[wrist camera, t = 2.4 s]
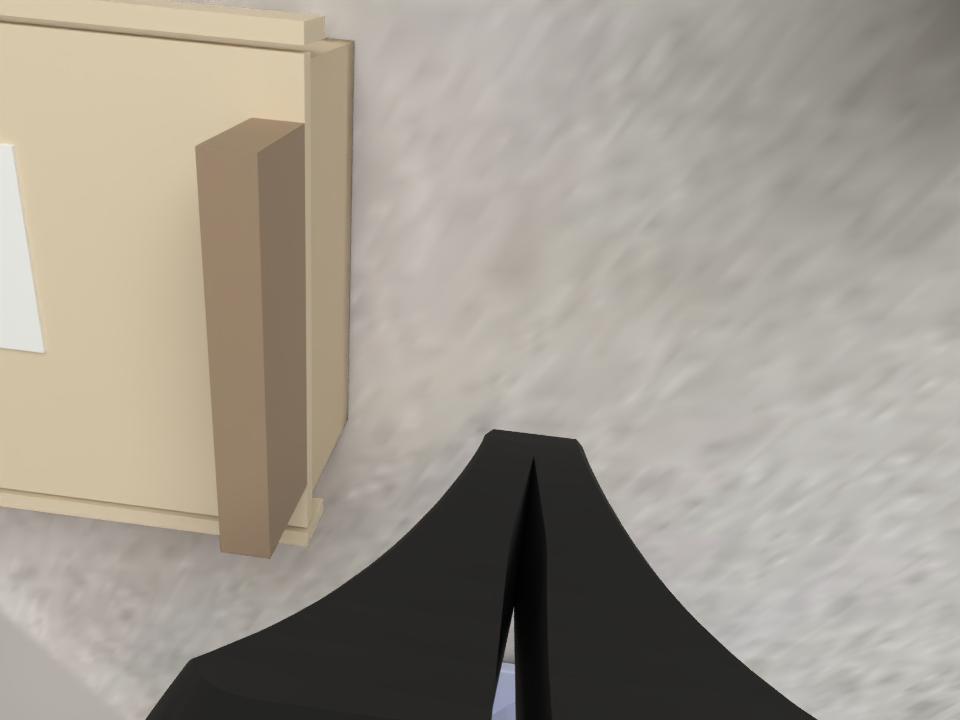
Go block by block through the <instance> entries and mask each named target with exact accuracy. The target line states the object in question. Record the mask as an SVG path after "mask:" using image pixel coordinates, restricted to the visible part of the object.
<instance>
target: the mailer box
mask: <svg viewBox="0 0 960 720" xmlns="http://www.w3.org/2000/svg"><path fill="white" fill-rule="evenodd" d="M0 21H7V22H17V23H27V24H37V25H47V26H57V27H67V28H77V29H87V30H97V31H107V32H116V33H126V34H136V35H146V36H156V37H166V38H176V39H186V40H196V41H206V42H216V43H226V44H236V45H245V46H255V47H265V48H275V49H285V50H295V51H305V52H310V71H311V320H312V492H313V490H314V488H315V486H316V484H317V482H318V480H319V477H320V475H321V473H322V471H323V469H324V467H325V465H326V463H327V461H328V459H329V457H330V455H331V453H332V451H333V449H334V447H335V445H336V442H337V440H338V438H339V436H340V434H341V432H342V430H343V428H344V426H345V424H346V422H347V420H348V375H349V318H350V260H351V202H352V145H353V87H354V41H350V40H340V39H330V38H325V39H322V40H319V41H316V42H313V43H310V44H307V45H295V44H285V43H275V42H265V41H255V40H245V39H235V38H225V37H215V36H205V35H195V34H185V33H175V32H165V31H155V30H145V29H135V28H125V27H115V26H105V25H95V24H85V23H75V22H66V21H56V20H46V19H36V18H26V17H16V16H6V15H0Z"/></svg>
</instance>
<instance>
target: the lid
mask: <svg viewBox="0 0 960 720" xmlns="http://www.w3.org/2000/svg"><path fill="white" fill-rule="evenodd" d="M0 15H6V16H16V17H26V18H36V19H46V20H56V21H66V22H75V23H85V24H95V25H105V26H115V27H125V28H135V29H145V30H155V31H165V32H175V33H185V34H195V35H205V36H215V37H225V38H235V39H245V40H255V41H265V42H275V43H285V44H295V45H307V44H310V43H313V42H316V41H319V40H322V39H325V16H320V15H310V14H300V13H289V12H279V11H269V10H259V9H249V8H239V7H228V6H218V5H208V4H198V3H188V2H178V1H167V0H0ZM0 506H2V507H10V508H17V509H25V510H32V511H40V512H48V513H55V514H63V515H70V516H78V517H85V518H93V519H100V520H108V521H116V522H123V523H131V524H138V525H146V526H153V527H161V528H168V529H176V530H184V531H191V532H199V533H206V534H214V535H220V549H221V552H224V553H231V554H239V555H246V556H254V557H261V558H269V559H270V558H271V556H272V554H273V552H274V550H275V548H276V546H277V544H278V543H282V544H289V545H297V546H305V547H308V545H309V543H310V541H311V538H312V536H313V534H314V532H315V529H316V527H317V525H318V523H319V521H320V518H321V516H322V514H323V506H324V498H317V497H312V320H311V71H310V52H305V51H295V50H285V49H275V48H265V47H255V46H245V45H236V44H226V43H216V42H206V41H196V40H186V39H176V38H166V37H156V36H146V35H136V34H126V33H116V32H107V31H97V30H87V29H77V28H67V27H57V26H47V25H37V24H27V23H17V22H7V21H0Z"/></svg>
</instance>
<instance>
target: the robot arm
mask: <svg viewBox="0 0 960 720" xmlns="http://www.w3.org/2000/svg"><path fill="white" fill-rule="evenodd" d="M513 609H514V641H515V664H510V663H503V657H504V652H505V647H506V643H507V638H508V633H509V628H510V623H511V618H512V614H513ZM146 720H817V719H816V718H814V717H813V716H811V715H810V714H808V713H807V712H805V711H804V710H802V709H801V708H799V707H798V706H796V705H795V704H794V703H792V702H791V701H790V700H788V699H787V698H786V697H784V696H783V695H782V694H781V693H779V692H778V691H777V690H775V689H774V688H773V687H772V686H770V685H769V684H768V683H767V682H765V681H764V680H763V679H761V678H760V677H759V676H758V675H756V674H755V673H754V672H753V671H751V670H750V669H749V668H748V667H747V666H746V665H744V664H743V663H742V662H741V661H740V660H739V659H737V658H736V657H735V656H734V655H733V654H732V653H730V652H729V651H728V650H727V649H726V648H725V647H724V646H723V645H722V644H721V643H720V642H719V641H718V640H717V639H716V638H714V637H713V636H712V635H711V634H710V633H709V632H708V631H707V630H706V629H705V628H704V627H703V626H702V625H701V624H700V623H699V622H698V621H697V620H696V619H695V618H694V617H693V616H692V615H691V614H690V613H689V612H688V611H687V610H686V609H685V608H684V607H683V606H682V605H681V603H680V602H679V601H678V600H677V599H676V598H675V597H674V595H673V594H672V593H671V592H670V591H669V590H668V588H667V587H666V586H665V585H664V583H663V582H662V581H661V580H660V578H659V577H658V576H657V575H656V573H655V572H654V571H653V569H652V568H651V567H650V565H649V564H648V563H647V561H646V560H645V558H644V557H643V556H642V554H641V553H640V551H639V550H638V548H637V547H636V546H635V544H634V543H633V541H632V540H631V538H630V537H629V535H628V534H627V532H626V530H625V529H624V527H623V526H622V524H621V522H620V521H619V519H618V517H617V516H616V514H615V512H614V511H613V509H612V507H611V506H610V504H609V502H608V500H607V499H606V497H605V495H604V493H603V491H602V489H601V487H600V485H599V483H598V481H597V479H596V477H595V475H594V473H593V471H592V469H591V467H590V465H589V462H588V460H587V458H586V455H585V453H584V450H583V447H582V446H581V445H580V443H579V442H578V441H577V440H576V439H569V438H561V437H553V436H545V435H537V434H529V433H520V432H512V431H504V430H496V429H493V430H492V431H490V432H489V433H487V434H486V435H485V436H484V439H483V441H482V443H481V445H480V447H479V448H478V450H477V452H476V453H475V455H474V456H473V458H472V459H471V461H470V462H469V463H468V465H467V466H466V468H465V469H464V470H463V472H462V473H461V474H460V476H459V477H458V478H457V479H456V481H455V482H454V483H453V484H452V486H451V487H450V488H449V489H448V490H447V492H446V493H445V494H444V495H443V497H442V498H441V499H440V500H439V501H438V502H437V503H436V504H435V505H434V506H433V508H432V509H431V510H430V511H429V512H428V513H427V514H426V515H425V516H424V517H423V518H422V519H421V520H420V521H419V522H418V523H417V524H416V525H415V526H414V527H413V528H412V529H411V530H410V531H409V532H408V533H407V534H406V535H405V536H404V537H403V538H402V539H400V540H399V541H398V542H397V543H396V544H395V545H394V546H393V547H391V548H390V549H389V550H388V551H387V552H386V553H384V554H383V555H382V556H381V557H379V558H378V559H377V560H376V561H375V562H373V563H372V564H371V565H370V566H368V567H367V568H365V569H364V570H363V571H361V572H360V573H358V574H357V575H356V576H354V577H353V578H352V579H350V580H349V581H347V582H346V583H345V584H343V585H342V586H340V587H339V588H337V589H336V590H334V591H333V592H331V593H330V594H328V595H327V596H325V597H324V598H322V599H320V600H319V601H317V602H315V603H313V604H312V605H310V606H308V607H306V608H304V609H303V610H301V611H299V612H297V613H296V614H294V615H292V616H290V617H288V618H286V619H284V620H282V621H280V622H278V623H276V624H274V625H272V626H270V627H268V628H266V629H264V630H261V631H259V632H257V633H255V634H252V635H250V636H247V637H245V638H243V639H240V640H238V641H235V642H233V643H231V644H228V645H226V646H223V647H221V648H219V649H216V650H214V651H211V652H209V653H206V654H204V655H201V656H198V657H196V658H193V659H191V660H190V661H189V662H188V663H187V664H186V666H185V667H184V668H183V670H182V671H181V672H180V673H179V675H178V676H177V677H176V679H175V680H174V681H173V683H172V684H171V685H170V687H169V688H168V689H167V691H166V692H165V693H164V695H163V696H162V698H161V699H160V700H159V702H158V703H157V704H156V706H155V707H154V708H153V710H152V711H151V712H150V714H149V715H148V717H147V718H146Z"/></svg>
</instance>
